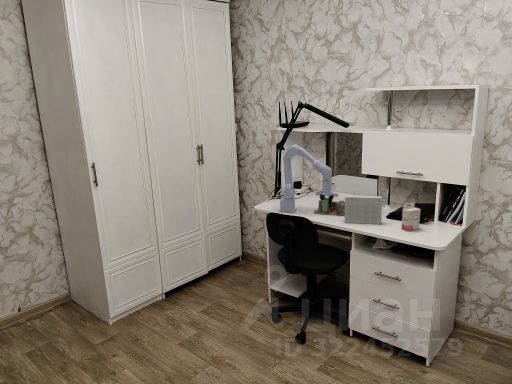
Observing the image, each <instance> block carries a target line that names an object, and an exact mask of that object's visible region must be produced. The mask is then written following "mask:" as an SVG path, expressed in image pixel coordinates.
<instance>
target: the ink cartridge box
mask: <svg viewBox="0 0 512 384" xmlns="http://www.w3.org/2000/svg"><path fill="white" fill-rule="evenodd" d="M402 205H403V206H402V211H401V212H402V214H401V217H402V218H401V229H402V230H403V229H404V231H406V232H410V231H415V229H417V230H419V229H420V220H421V208H418V207H415V205H416V202H415V201H413V202H408V203H407V202H406V203H403V204H402Z"/></svg>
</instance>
